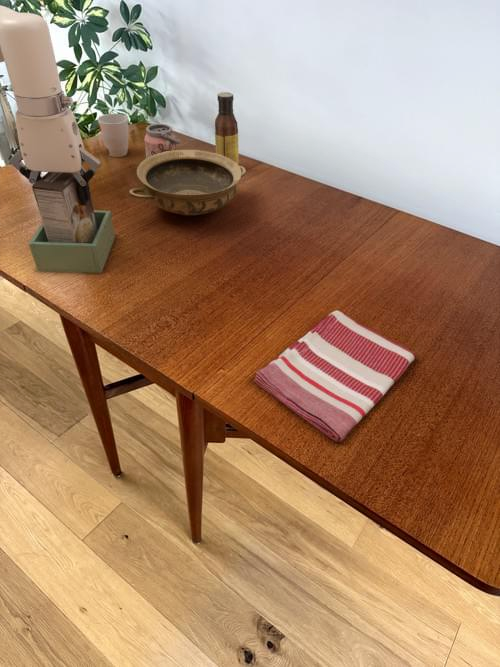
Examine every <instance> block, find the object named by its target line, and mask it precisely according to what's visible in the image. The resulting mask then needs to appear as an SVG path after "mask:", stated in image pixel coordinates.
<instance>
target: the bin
mask: <svg viewBox="0 0 500 667" xmlns="http://www.w3.org/2000/svg"><path fill="white" fill-rule="evenodd" d="M93 210H94V215H95V220H96V224H97V229H98V232H97V234H96V237H95V239H94V241H93V243H92V244H88V243H57V242H48V238H47V235H46V232H45V228H44V225H43V222H42V221H41V223H40V225H39V226H38V228H37V230H36V231H35V233H33V236H32V238H31V239H30V241H29V242H28V246H29V249H30V252H31V255H32V259H33V262H34V264H35V267H36V271H37V272H57V273H85V274H86V273H91V274H102V272H103V270H104V267H105V265H106V262H107V260H108V257H109V255H110V252H111V249H112V247H113V243H114V241H115V238H116V234H115V228H114V223H113V222H114V221H113V218H112V212H111V210H99V209H98V210H96V209H93Z"/></svg>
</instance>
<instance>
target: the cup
mask: <svg viewBox="0 0 500 667" xmlns="http://www.w3.org/2000/svg"><path fill="white" fill-rule="evenodd" d="M97 123H98V128H99V133H100V136H101V139H102V142H103V146H104V148H105V149H106V152H107V154H108V156H109V157H113V158H122V157H125V156H127V154H128V149H129V139H130V138H129V136H130V133H129V132H130V130H129V118H128V116H127V115H124V114H121V113H106V114H103V115H102V114H101V115H100V116H98V117H97Z"/></svg>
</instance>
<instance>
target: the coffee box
mask: <svg viewBox="0 0 500 667" xmlns="http://www.w3.org/2000/svg"><path fill="white" fill-rule="evenodd" d="M41 177H42V178H41V179H39V180H38V181H37V182H36V183H35V184H34V185H33V184H31V188H32V192H33V196H34V198H35V202H36V205H37V208H38V211H39V215H40V218H41V223H42V222H43V225H44V228H45V232H46V235H47V238H48V242H57V243H88V244H92V243H93V241H94V239H95V237H96V234H97V232H98V229H97V224H96V220H95V215H94V210H95V209H94V206H93V200H92V197H91V198H90V200H88V202H87V204H86V206H83V205H81V201H80V196H79V192H78V185H79V182H78V181H77V180H76V178H75V177H74V176H73V174H72V173H60V172H46V173H45V174H44V175H43V176H41Z"/></svg>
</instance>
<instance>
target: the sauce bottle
mask: <svg viewBox="0 0 500 667" xmlns="http://www.w3.org/2000/svg"><path fill="white" fill-rule="evenodd" d="M234 100H235V98H234V93H232V92H227V91H221V92H218V93H217V102H218V110H217V111H218V114H217V116H216V118H215V119H214V138H215V139H214V141H215V142H214V143H215V153H216V154H219V155H222V156H225V157H227V158H229V159H231V160H232V161H234V162H235V163H236V164H238V165H239V164H240V163H239V162H240V161H239V158H240V157H239V128H238V127H239V126H238V121H237V119H236V117H235V114H234Z"/></svg>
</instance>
